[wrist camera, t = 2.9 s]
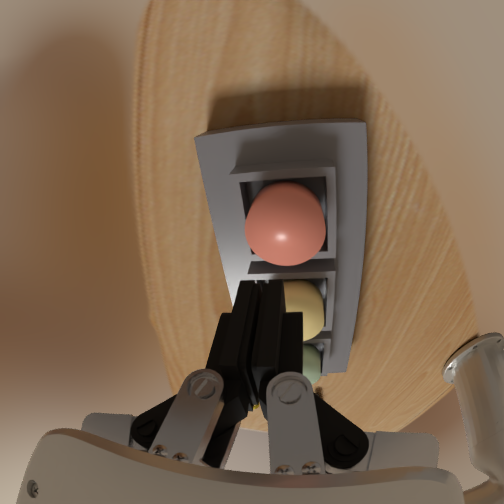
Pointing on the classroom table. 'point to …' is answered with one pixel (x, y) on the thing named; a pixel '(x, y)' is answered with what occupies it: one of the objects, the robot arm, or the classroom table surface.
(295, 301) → the mustard button
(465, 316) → the classroom table surface
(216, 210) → the button panel
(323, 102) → the classroom table surface
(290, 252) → the red button
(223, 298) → the classroom table surface
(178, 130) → the classroom table surface
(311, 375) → the sage button
